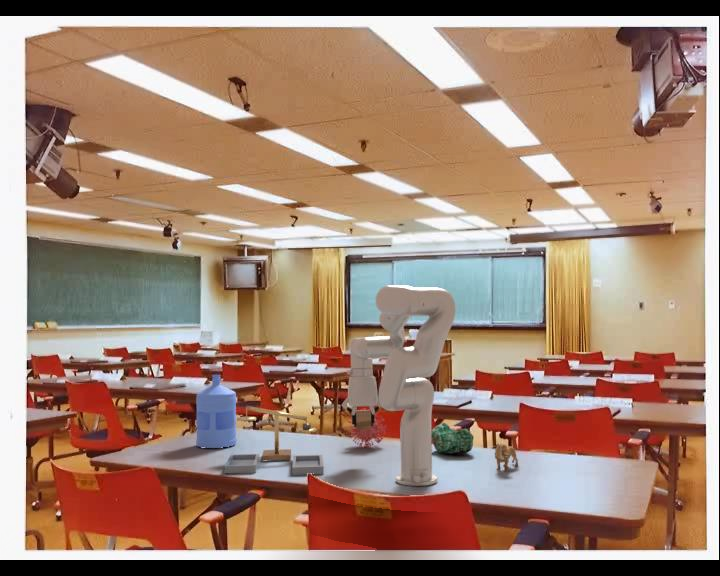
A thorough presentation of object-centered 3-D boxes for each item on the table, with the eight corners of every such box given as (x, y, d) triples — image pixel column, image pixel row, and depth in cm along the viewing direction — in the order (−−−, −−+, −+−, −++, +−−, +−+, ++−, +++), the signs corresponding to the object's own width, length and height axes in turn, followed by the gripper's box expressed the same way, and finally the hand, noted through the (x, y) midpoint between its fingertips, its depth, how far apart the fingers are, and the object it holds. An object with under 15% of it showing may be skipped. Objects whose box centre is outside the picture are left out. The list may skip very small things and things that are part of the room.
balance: (316, 459, 235) (316, 405, 235) (235, 462, 232) (235, 407, 233) (316, 453, 245) (315, 402, 245) (238, 456, 242) (238, 404, 243)
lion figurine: (508, 474, 210) (508, 445, 210) (492, 472, 213) (491, 444, 213) (520, 464, 223) (519, 437, 223) (504, 463, 226) (504, 436, 226)
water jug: (201, 442, 271) (201, 373, 272) (239, 441, 271) (239, 373, 272) (191, 449, 255) (191, 376, 257) (232, 449, 255) (232, 376, 257)
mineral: (418, 452, 245) (418, 425, 245) (445, 446, 256) (444, 420, 256) (459, 459, 232) (459, 431, 232) (485, 452, 243) (484, 425, 243)
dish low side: (323, 474, 213) (323, 466, 213) (292, 475, 212) (292, 467, 212) (322, 462, 231) (322, 454, 231) (293, 463, 230) (293, 455, 230)
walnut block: (371, 429, 227) (370, 411, 227) (356, 429, 226) (356, 412, 227) (369, 427, 232) (369, 410, 232) (355, 427, 231) (355, 410, 232)
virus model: (371, 442, 266) (371, 404, 267) (393, 447, 254) (393, 408, 255) (340, 446, 258) (340, 408, 259) (362, 452, 246) (361, 412, 247)
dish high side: (255, 472, 216) (255, 465, 216) (224, 473, 215) (224, 466, 215) (259, 460, 234) (259, 453, 234) (230, 461, 233) (230, 454, 233)
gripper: (338, 374, 226) (339, 428, 225) (387, 373, 227) (389, 426, 226) (336, 373, 233) (338, 425, 232) (384, 371, 235) (386, 423, 233)
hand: (363, 425), depth 229 cm, fingers closed on walnut block, 5 cm apart
